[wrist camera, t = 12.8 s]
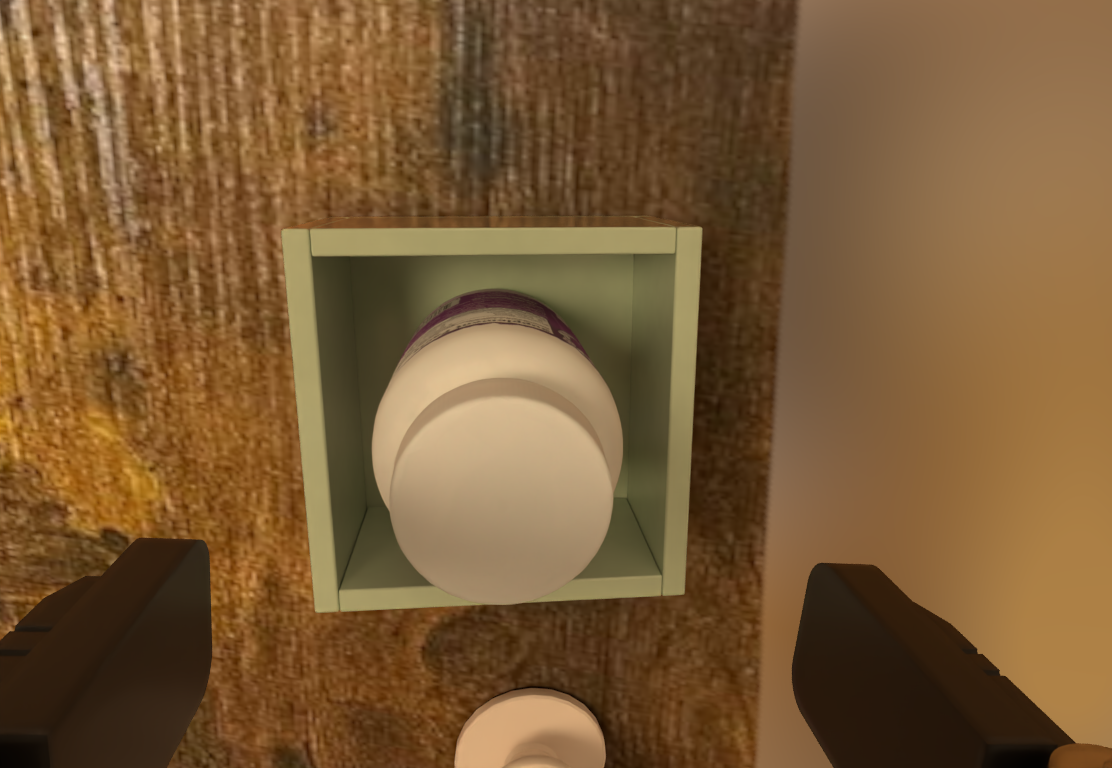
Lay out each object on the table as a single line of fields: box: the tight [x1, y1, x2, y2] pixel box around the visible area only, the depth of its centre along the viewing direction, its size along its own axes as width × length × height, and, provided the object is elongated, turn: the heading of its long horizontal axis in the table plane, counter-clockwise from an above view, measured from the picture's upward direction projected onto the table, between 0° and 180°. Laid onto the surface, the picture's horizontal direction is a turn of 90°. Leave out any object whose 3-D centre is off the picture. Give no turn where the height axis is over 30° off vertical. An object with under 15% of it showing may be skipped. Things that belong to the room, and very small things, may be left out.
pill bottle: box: [372, 289, 623, 605], centre depth 18 cm, size 5×5×10 cm
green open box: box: [281, 216, 703, 613], centre depth 21 cm, size 9×9×6 cm
